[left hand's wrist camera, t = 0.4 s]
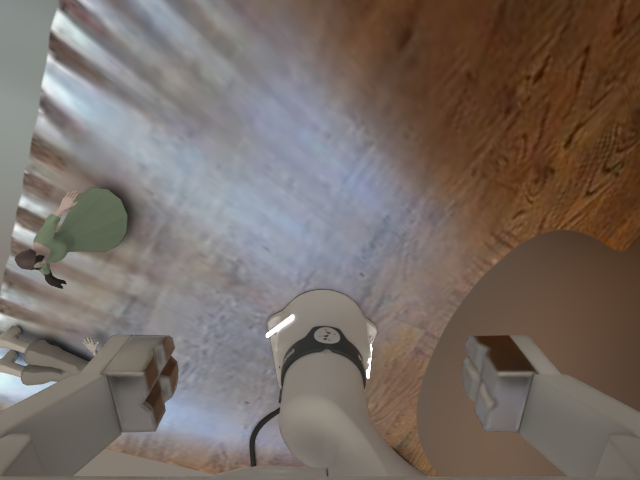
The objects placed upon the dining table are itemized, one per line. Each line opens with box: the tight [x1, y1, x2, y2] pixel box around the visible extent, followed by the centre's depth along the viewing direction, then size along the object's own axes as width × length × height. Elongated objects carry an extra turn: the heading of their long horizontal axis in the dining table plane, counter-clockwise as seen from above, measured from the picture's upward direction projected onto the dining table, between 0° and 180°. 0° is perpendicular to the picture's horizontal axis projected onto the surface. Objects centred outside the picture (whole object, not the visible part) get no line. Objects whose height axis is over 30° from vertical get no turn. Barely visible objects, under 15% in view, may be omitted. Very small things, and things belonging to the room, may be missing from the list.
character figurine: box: [15, 188, 127, 289], centre depth 50 cm, size 16×8×18 cm, turn 155°
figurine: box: [0, 326, 99, 385], centre depth 66 cm, size 18×5×25 cm
